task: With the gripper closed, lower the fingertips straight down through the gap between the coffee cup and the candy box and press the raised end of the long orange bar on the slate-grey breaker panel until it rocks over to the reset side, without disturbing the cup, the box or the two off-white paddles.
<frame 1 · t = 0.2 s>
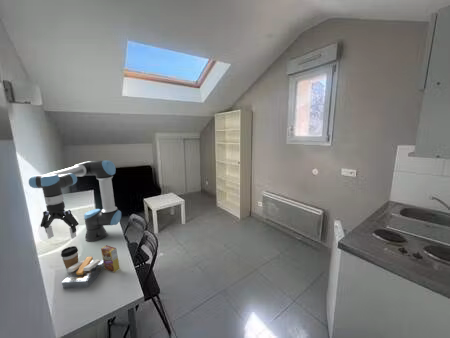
hand: (62, 237, 110), 28 cm above the table, fingers open, 13 cm apart
coffee cup: (73, 270, 124), on the table
long orange bar: (84, 265, 117), point 7 cm above the table, hinge at 16.0°
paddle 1: (77, 265, 117), point 7 cm above the table, hinge at -14.0°
breaker panel: (86, 275, 118), on the table
candy box: (112, 269, 124), on the table
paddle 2: (92, 265, 118), point 7 cm above the table, hinge at -14.0°
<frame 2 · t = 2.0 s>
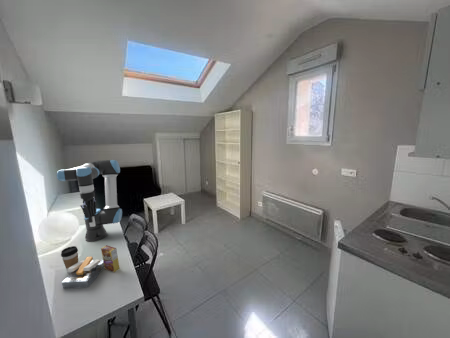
hand: (92, 226, 126), 26 cm above the table, fingers closed
nothing on the table moved.
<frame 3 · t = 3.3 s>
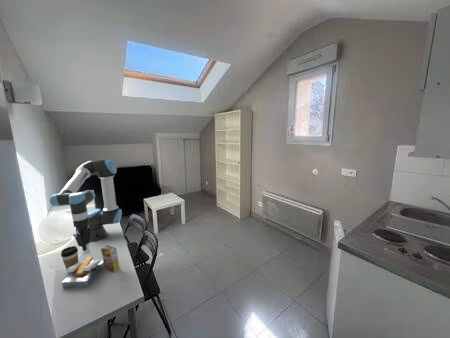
hand: (86, 253, 119), 13 cm above the table, fingers closed
nothing on the table moved.
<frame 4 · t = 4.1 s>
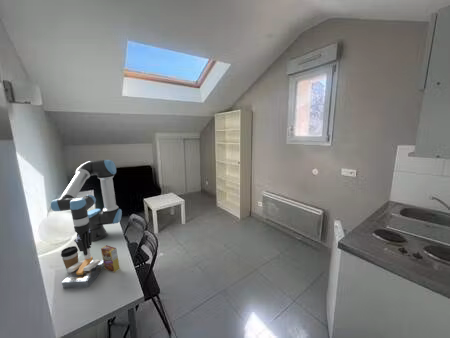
hand: (87, 258, 120), 9 cm above the table, fingers closed
long orange bar: (84, 265, 117), point 7 cm above the table, hinge at 16.0°, touching gripper
everything else where it was.
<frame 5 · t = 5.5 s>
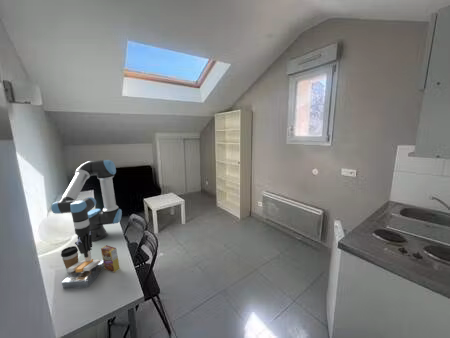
hand: (88, 260, 121), 8 cm above the table, fingers closed
long orange bar: (84, 265, 117), point 7 cm above the table, hinge at -7.9°, touching gripper
everything else where it was.
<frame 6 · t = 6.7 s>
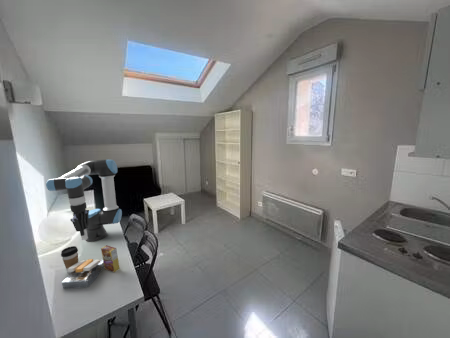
hand: (84, 239, 118), 22 cm above the table, fingers closed
long orange bar: (84, 265, 117), point 7 cm above the table, hinge at -7.9°
everything else where it was.
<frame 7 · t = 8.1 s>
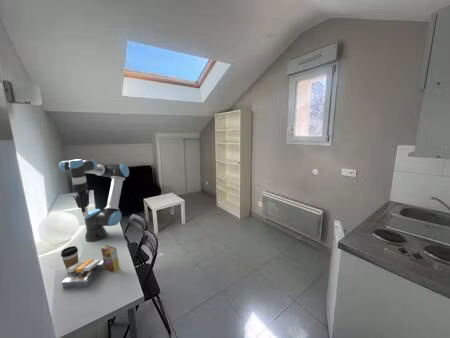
hand: (85, 215, 132), 30 cm above the table, fingers closed
nothing on the table moved.
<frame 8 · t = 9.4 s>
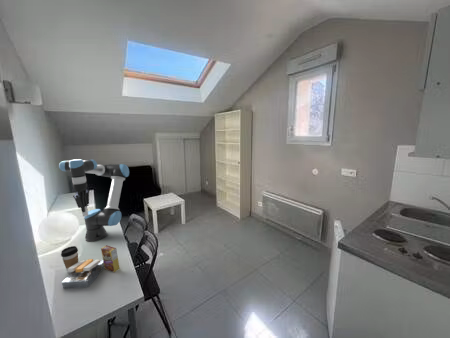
hand: (85, 215, 132), 30 cm above the table, fingers closed
nothing on the table moved.
at the end: long orange bar at -8° (first picture: +16°); coffee cup moved 0.2 cm from its start; candy box moved 0.2 cm from its start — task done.
